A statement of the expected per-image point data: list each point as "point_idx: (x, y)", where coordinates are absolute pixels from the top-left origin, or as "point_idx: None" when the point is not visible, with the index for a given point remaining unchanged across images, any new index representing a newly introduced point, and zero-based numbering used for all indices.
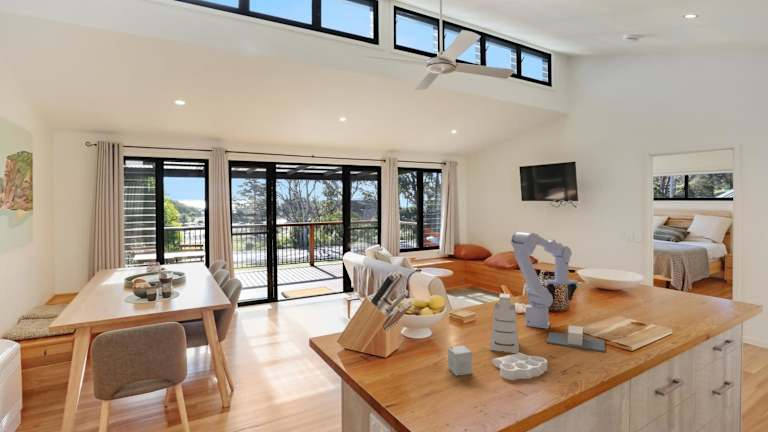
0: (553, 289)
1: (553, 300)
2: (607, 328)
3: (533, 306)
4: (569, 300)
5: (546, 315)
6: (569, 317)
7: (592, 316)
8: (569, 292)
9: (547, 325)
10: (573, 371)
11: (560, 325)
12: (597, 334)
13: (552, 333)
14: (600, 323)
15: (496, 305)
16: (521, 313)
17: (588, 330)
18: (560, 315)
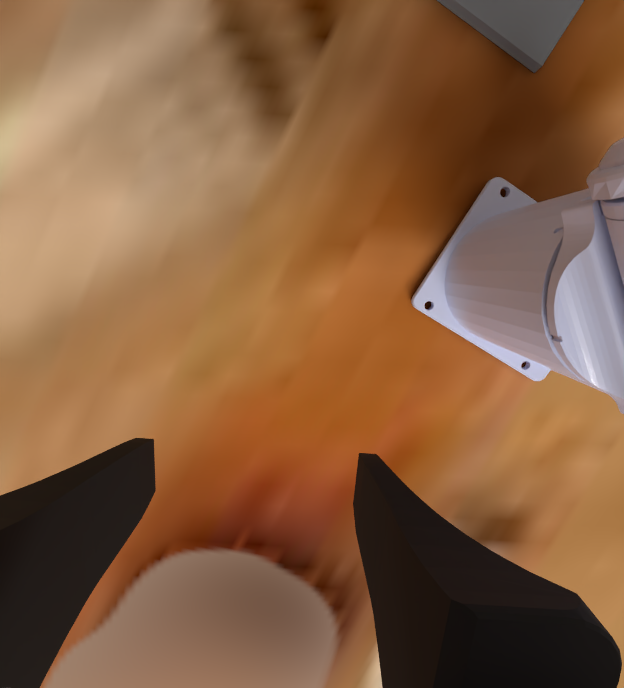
0: (466, 569)
1: (373, 454)
2: (9, 164)
3: None
4: (153, 448)
5: (546, 202)
6: (190, 433)
7: (14, 442)
8: (76, 549)
9: (472, 229)
10: None
11: (345, 263)
12: (153, 15)
13: (539, 22)
14: (17, 287)
15: None
16: (487, 534)
17: (182, 126)
18: (235, 478)
